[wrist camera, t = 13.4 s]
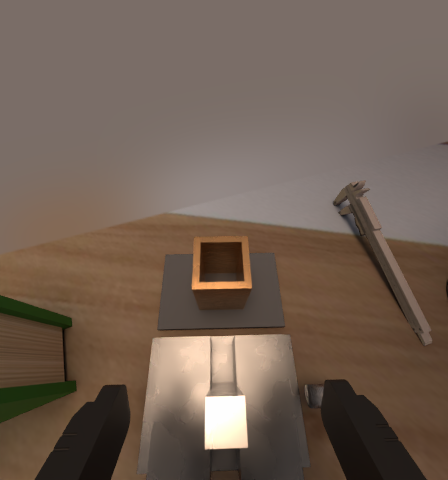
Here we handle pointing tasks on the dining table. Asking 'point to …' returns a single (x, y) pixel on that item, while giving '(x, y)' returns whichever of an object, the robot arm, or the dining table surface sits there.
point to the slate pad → (190, 317)
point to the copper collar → (221, 261)
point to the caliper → (383, 255)
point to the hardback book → (30, 357)
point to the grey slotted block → (224, 409)
